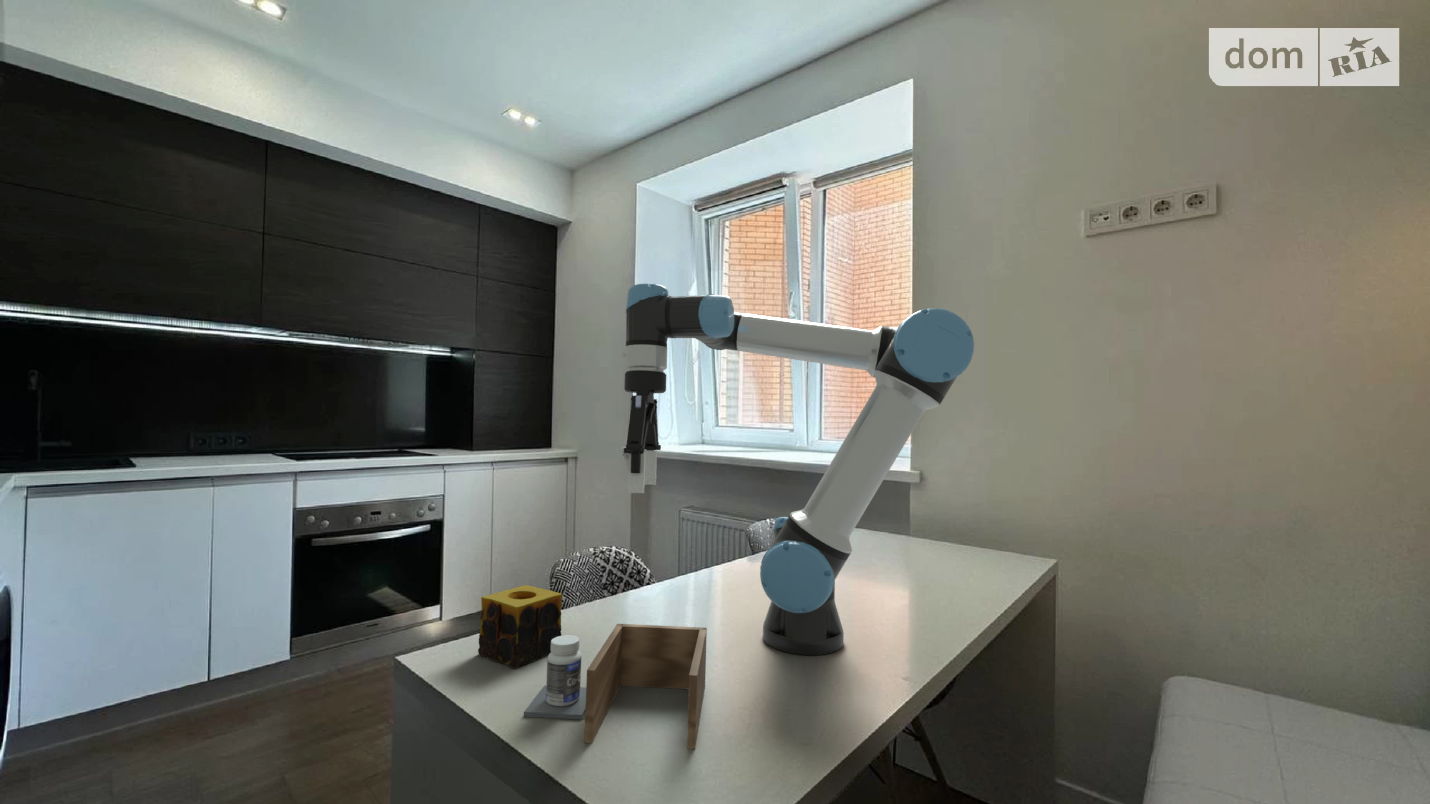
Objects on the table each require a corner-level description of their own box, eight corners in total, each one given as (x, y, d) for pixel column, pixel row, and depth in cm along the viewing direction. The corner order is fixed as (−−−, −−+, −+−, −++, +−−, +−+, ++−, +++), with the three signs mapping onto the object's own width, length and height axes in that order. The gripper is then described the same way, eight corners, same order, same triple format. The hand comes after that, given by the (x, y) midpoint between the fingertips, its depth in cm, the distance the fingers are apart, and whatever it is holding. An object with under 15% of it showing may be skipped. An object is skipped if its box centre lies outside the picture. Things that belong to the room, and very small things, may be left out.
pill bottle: (571, 709, 79) (573, 647, 80) (539, 705, 80) (541, 644, 81) (585, 693, 84) (587, 635, 84) (555, 689, 85) (557, 632, 85)
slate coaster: (596, 692, 86) (596, 688, 86) (581, 719, 78) (581, 714, 78) (544, 689, 86) (544, 685, 86) (523, 716, 78) (523, 711, 78)
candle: (514, 670, 93) (517, 608, 93) (475, 655, 98) (478, 596, 99) (562, 650, 101) (564, 593, 102) (524, 637, 107) (526, 583, 107)
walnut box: (705, 687, 88) (706, 627, 89) (695, 749, 71) (697, 675, 72) (615, 682, 89) (617, 623, 90) (584, 742, 72) (586, 669, 73)
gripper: (637, 376, 117) (634, 481, 116) (609, 363, 92) (605, 496, 91) (674, 377, 117) (671, 482, 116) (656, 363, 92) (652, 497, 91)
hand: (642, 488), depth 103 cm, fingers open, 13 cm apart
